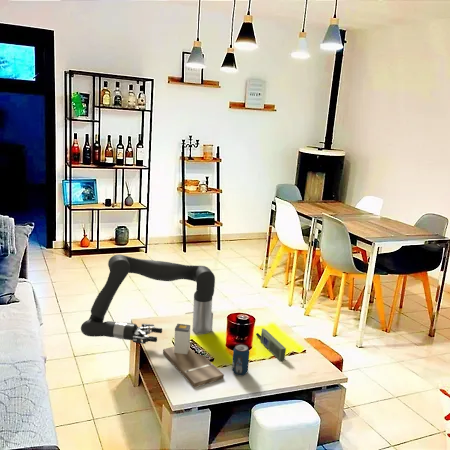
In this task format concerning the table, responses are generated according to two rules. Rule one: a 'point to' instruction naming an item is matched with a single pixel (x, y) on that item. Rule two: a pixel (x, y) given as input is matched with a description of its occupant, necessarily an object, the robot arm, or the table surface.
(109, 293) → the robot arm
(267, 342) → the handheld radio
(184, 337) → the white tall block
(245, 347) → the soda can
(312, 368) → the table surface
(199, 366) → the subfloor panel
